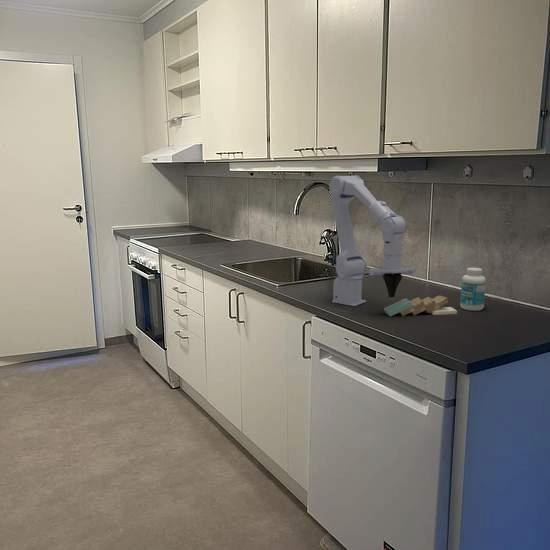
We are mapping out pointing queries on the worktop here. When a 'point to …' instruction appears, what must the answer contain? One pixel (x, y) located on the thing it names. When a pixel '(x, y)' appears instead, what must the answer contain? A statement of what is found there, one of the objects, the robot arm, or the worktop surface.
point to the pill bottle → (473, 290)
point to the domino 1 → (398, 307)
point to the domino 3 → (428, 304)
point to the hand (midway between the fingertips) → (391, 296)
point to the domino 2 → (416, 304)
